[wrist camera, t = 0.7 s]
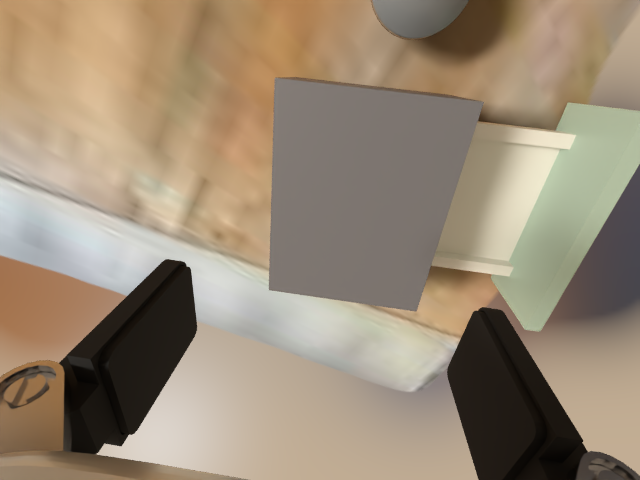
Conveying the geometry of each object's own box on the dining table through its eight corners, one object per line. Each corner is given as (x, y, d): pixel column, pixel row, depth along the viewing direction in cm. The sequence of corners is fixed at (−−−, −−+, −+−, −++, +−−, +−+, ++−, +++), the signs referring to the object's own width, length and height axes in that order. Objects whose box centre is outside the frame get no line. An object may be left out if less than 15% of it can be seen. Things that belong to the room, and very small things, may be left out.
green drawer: (584, 104, 27) (668, 114, 20) (502, 279, 36) (540, 331, 29) (427, 86, 28) (452, 89, 21) (385, 263, 37) (392, 310, 30)
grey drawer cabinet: (448, 94, 28) (483, 102, 20) (403, 261, 37) (416, 311, 29) (296, 77, 29) (274, 77, 21) (287, 244, 37) (268, 290, 30)
